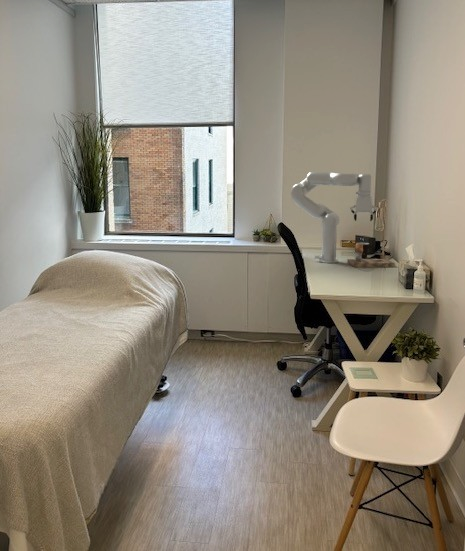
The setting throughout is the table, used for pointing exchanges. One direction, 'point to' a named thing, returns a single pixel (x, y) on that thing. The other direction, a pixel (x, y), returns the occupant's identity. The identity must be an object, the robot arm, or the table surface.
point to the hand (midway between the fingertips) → (363, 220)
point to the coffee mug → (365, 249)
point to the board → (371, 263)
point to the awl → (358, 251)
